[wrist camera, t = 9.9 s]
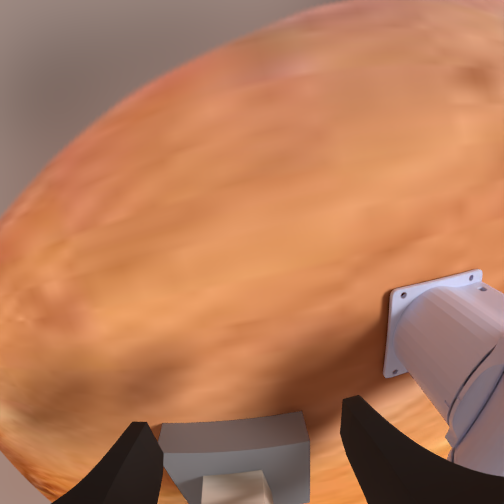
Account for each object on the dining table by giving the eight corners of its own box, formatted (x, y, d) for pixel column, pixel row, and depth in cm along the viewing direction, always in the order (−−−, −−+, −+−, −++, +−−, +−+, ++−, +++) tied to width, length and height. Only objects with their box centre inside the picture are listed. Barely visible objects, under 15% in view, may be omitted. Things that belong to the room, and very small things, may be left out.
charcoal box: (300, 407, 23) (309, 441, 19) (303, 474, 26) (309, 502, 22) (163, 419, 22) (155, 452, 19) (197, 484, 25) (194, 511, 22)
